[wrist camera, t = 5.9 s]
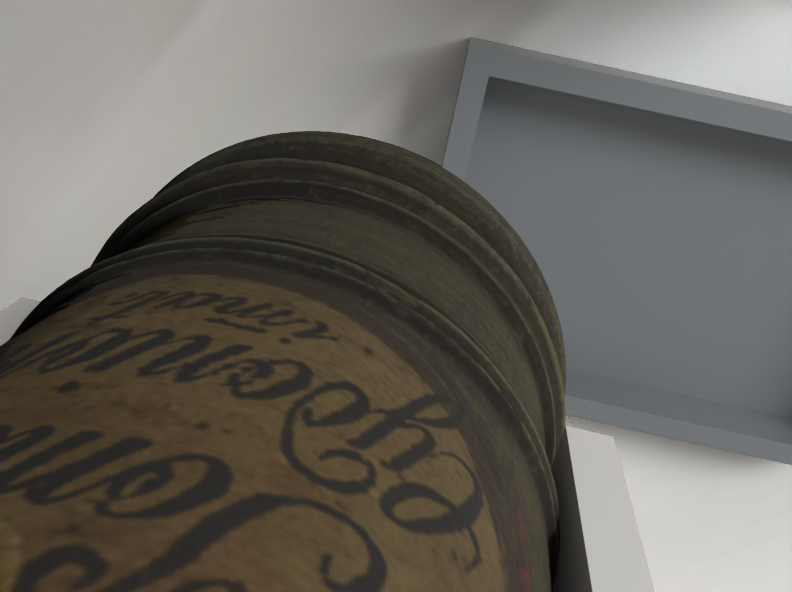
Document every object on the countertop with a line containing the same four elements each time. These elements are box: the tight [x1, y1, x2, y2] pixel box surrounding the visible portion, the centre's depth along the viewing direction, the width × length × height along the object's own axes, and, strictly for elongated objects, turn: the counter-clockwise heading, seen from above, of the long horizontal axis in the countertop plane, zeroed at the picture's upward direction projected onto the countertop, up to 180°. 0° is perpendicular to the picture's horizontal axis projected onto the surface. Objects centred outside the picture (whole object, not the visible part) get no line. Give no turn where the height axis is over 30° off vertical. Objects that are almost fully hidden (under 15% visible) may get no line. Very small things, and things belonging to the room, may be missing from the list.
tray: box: [442, 38, 792, 465], centre depth 33 cm, size 22×15×4 cm
